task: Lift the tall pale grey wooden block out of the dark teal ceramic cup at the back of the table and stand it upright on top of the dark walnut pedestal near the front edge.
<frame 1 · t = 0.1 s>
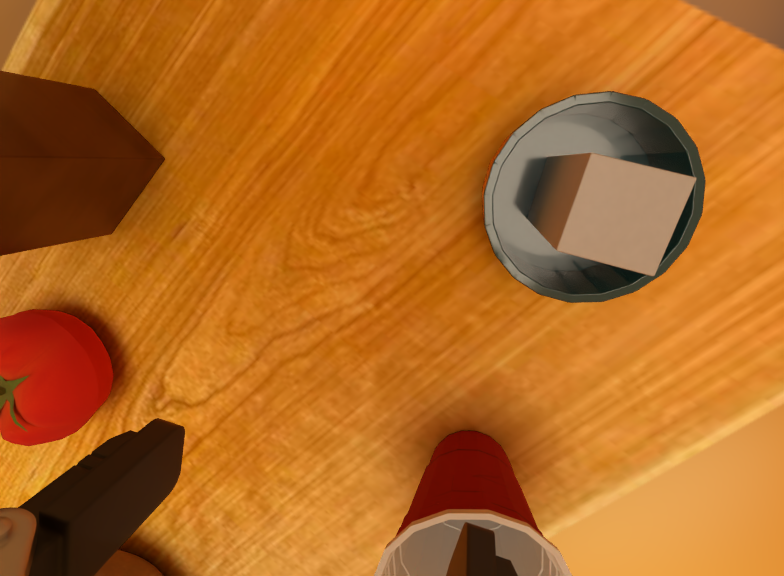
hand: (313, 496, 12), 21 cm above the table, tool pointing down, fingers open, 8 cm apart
pedestal: (103, 164, 34), on the table
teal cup: (566, 195, 29), on the table
block: (568, 196, 28), point 1 cm above the table, touching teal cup
plastic cup: (473, 459, 35), on the table
tomato: (77, 354, 39), on the table
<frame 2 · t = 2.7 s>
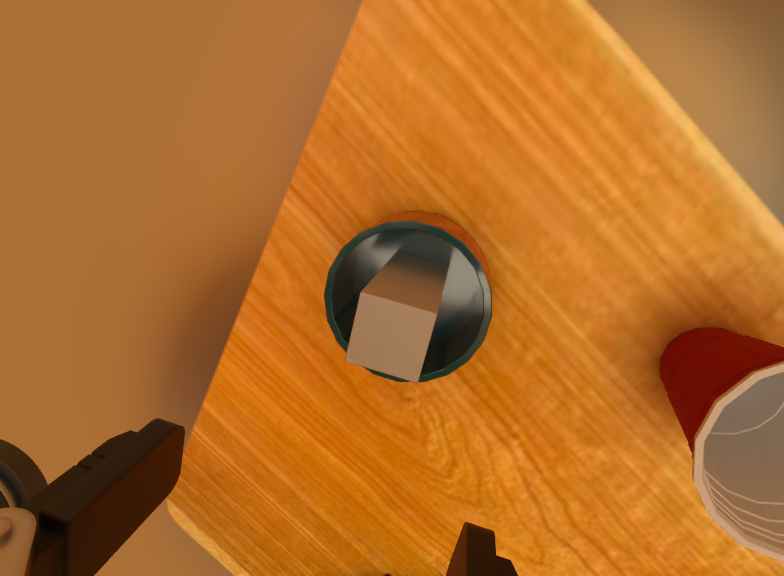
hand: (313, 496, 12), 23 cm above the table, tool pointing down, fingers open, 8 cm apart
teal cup: (417, 281, 34), on the table
block: (416, 283, 33), point 1 cm above the table, touching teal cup
plastic cup: (701, 360, 32), on the table
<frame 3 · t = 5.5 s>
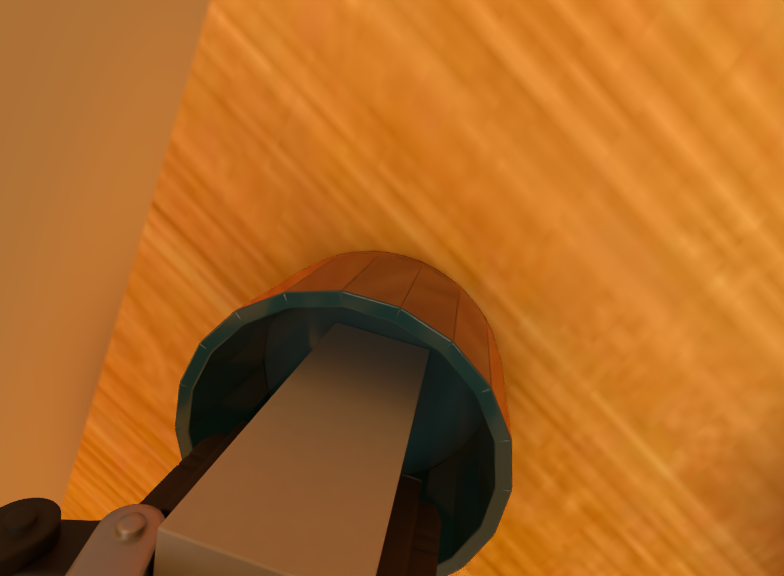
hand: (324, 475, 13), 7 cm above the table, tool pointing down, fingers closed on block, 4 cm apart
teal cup: (375, 371, 19), on the table
block: (371, 377, 19), point 1 cm above the table, touching gripper, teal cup
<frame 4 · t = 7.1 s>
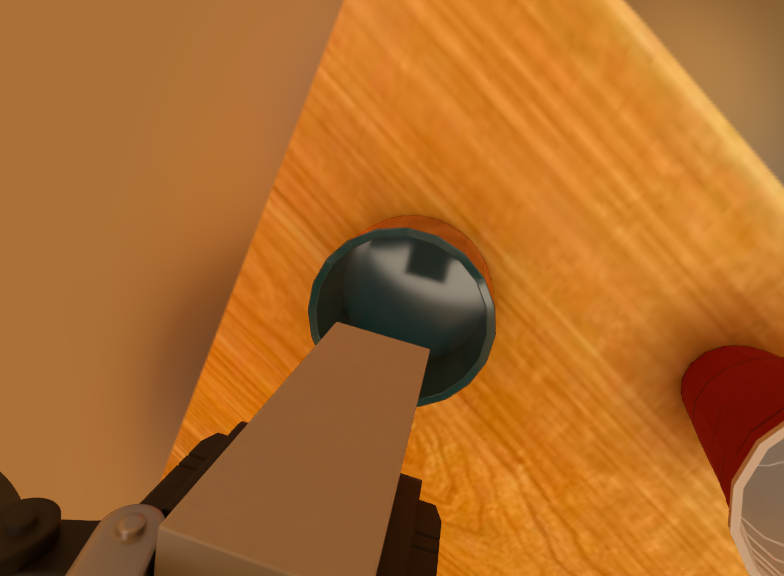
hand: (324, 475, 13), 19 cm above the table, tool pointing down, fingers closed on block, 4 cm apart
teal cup: (412, 292, 31), on the table
block: (372, 377, 19), point 13 cm above the table, touching gripper
plastic cup: (727, 381, 29), on the table
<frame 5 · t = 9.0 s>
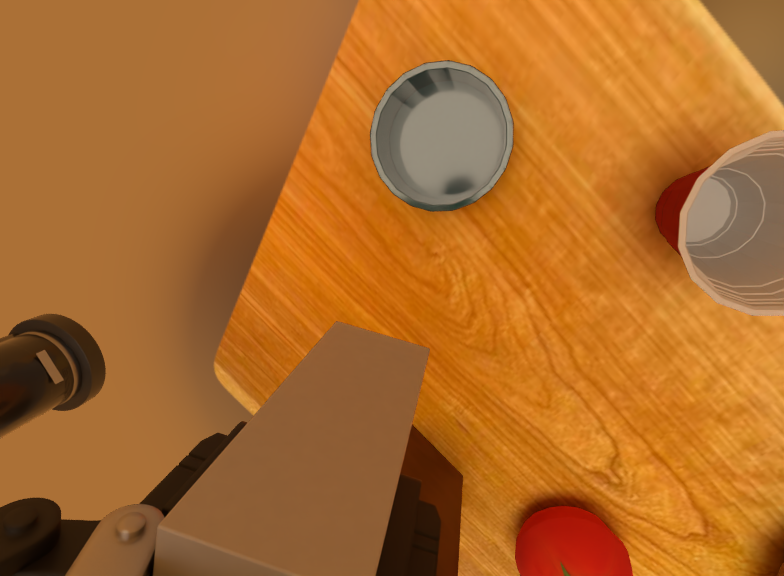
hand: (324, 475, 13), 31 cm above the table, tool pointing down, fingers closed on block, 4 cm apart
pedestal: (414, 467, 49), on the table
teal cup: (445, 142, 39), on the table
block: (372, 376, 19), point 25 cm above the table, touching gripper
plastic cup: (691, 206, 37), on the table
tomato: (562, 533, 48), on the table
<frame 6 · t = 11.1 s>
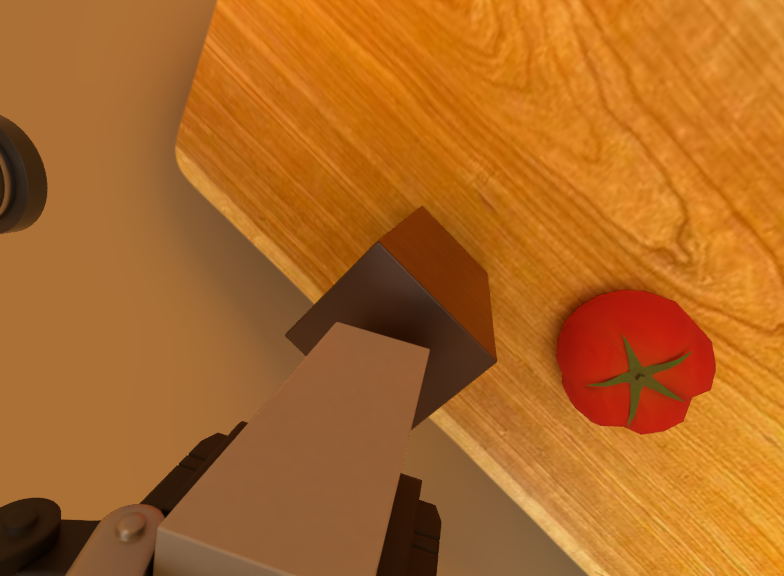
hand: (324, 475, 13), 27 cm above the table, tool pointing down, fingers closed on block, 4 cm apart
pedestal: (425, 267, 39), on the table
block: (372, 377, 19), point 21 cm above the table, touching gripper
tomato: (613, 342, 38), on the table
when the fingers open (24 cm above the table, at t = 12.5 s): block stays where it is, resting on pedestal.
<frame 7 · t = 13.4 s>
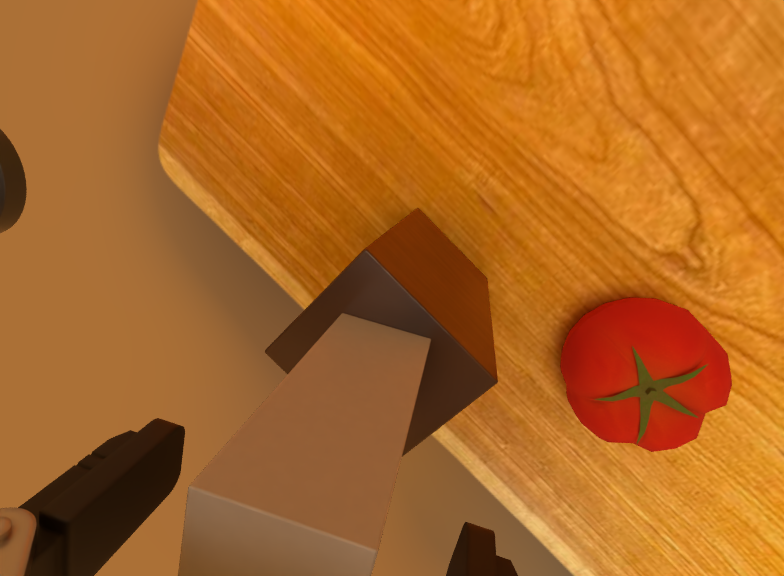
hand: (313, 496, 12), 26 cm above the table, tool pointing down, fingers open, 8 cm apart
pedestal: (422, 272, 37), on the table
block: (376, 366, 20), point 18 cm above the table, touching pedestal
tomato: (620, 352, 36), on the table
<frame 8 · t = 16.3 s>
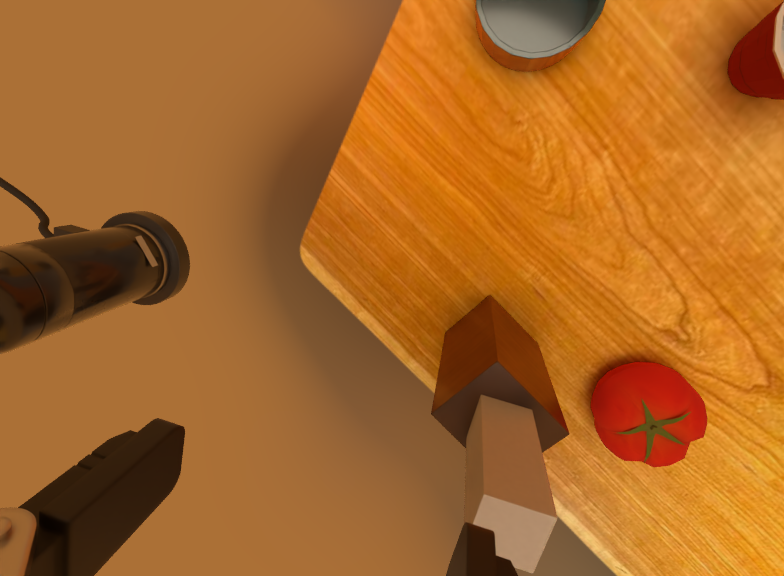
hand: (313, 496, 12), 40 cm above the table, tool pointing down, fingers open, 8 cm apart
pedestal: (490, 338, 52), on the table
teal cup: (532, 10, 43), on the table
block: (498, 423, 35), point 18 cm above the table, touching pedestal
plastic cup: (760, 60, 41), on the table
tomato: (631, 395, 51), on the table
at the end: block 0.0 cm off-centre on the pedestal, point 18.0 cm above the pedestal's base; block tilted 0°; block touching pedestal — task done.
